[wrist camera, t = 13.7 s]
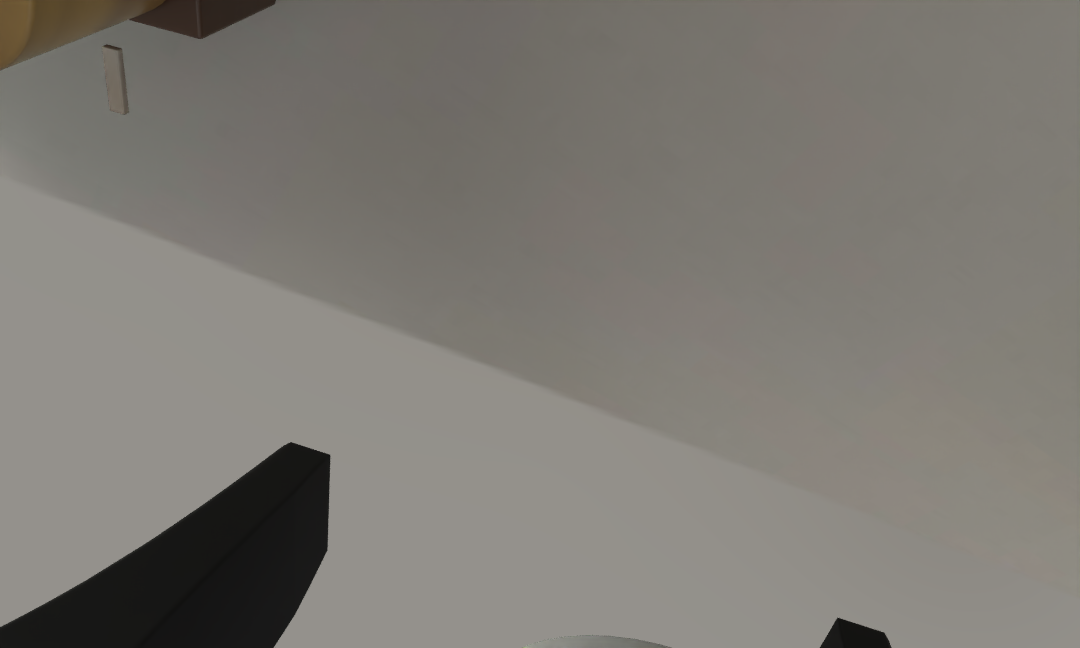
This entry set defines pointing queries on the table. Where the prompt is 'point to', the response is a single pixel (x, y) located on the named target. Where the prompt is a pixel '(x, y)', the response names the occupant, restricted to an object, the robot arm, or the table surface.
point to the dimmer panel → (190, 9)
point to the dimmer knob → (58, 23)
